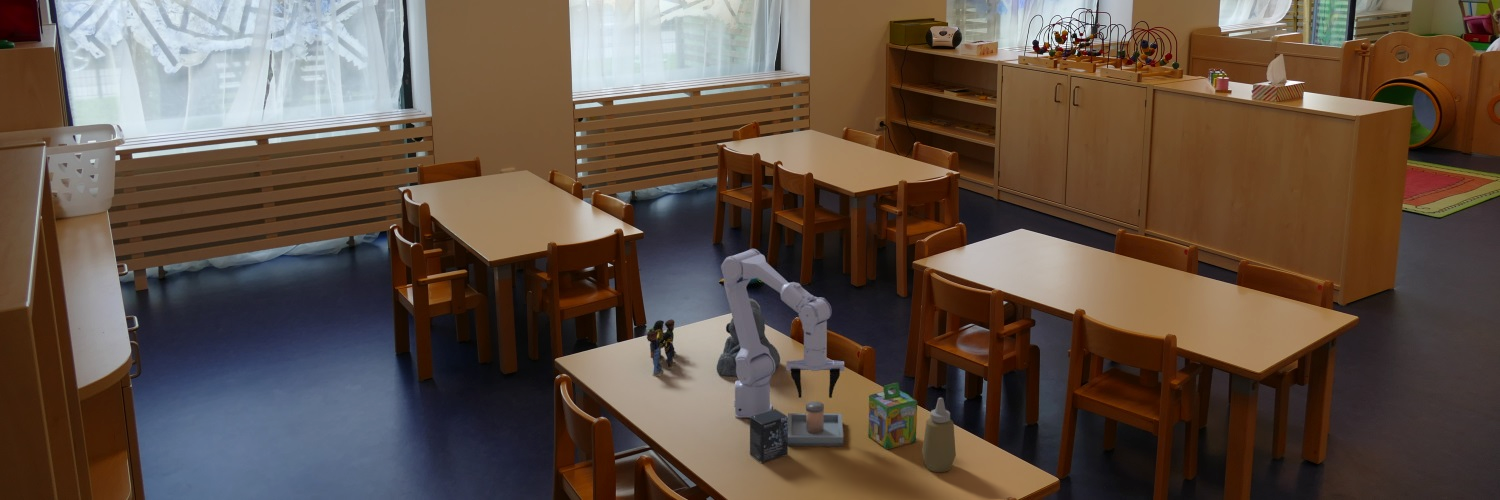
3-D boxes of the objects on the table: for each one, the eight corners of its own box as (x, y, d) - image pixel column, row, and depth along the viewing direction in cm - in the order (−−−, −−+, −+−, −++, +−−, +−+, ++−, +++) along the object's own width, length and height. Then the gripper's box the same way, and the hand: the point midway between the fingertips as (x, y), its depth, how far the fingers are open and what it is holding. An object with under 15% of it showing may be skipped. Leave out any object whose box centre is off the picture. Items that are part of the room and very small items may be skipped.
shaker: (805, 433, 299) (805, 408, 297) (806, 426, 303) (806, 401, 301) (823, 434, 299) (823, 408, 297) (824, 426, 303) (823, 401, 301)
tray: (787, 445, 295) (787, 437, 294) (788, 421, 308) (787, 413, 307) (843, 446, 294) (843, 437, 293) (841, 421, 307) (841, 413, 307)
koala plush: (724, 354, 353) (722, 293, 348) (783, 357, 351) (783, 295, 345) (714, 377, 337) (713, 313, 331) (777, 380, 334) (776, 315, 329)
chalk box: (887, 450, 291) (888, 395, 287) (866, 436, 299) (867, 382, 295) (917, 442, 295) (919, 388, 291) (896, 428, 303) (898, 375, 299)
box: (762, 463, 286) (761, 424, 283) (749, 455, 290) (748, 416, 287) (788, 455, 290) (788, 416, 287) (775, 446, 294) (775, 408, 291)
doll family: (679, 378, 336) (678, 335, 332) (648, 380, 335) (646, 337, 332) (675, 349, 358) (674, 307, 354) (646, 350, 357) (644, 309, 353)
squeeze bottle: (918, 460, 286) (920, 392, 281) (950, 458, 287) (953, 390, 281) (925, 476, 278) (927, 406, 273) (959, 474, 279) (962, 404, 274)
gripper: (786, 352, 291) (786, 402, 295) (844, 352, 290) (844, 402, 294) (786, 341, 297) (786, 391, 301) (843, 341, 297) (843, 391, 301)
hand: (815, 396), depth 298 cm, fingers open, 7 cm apart
